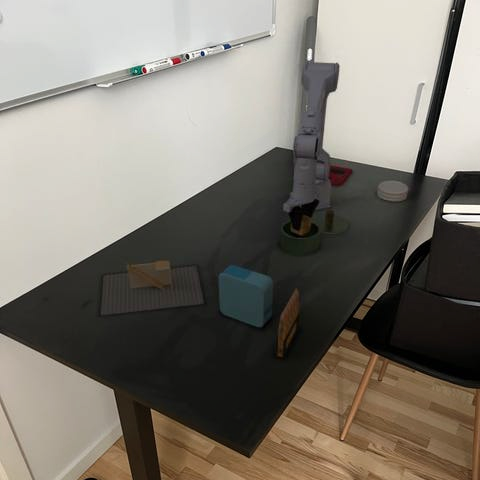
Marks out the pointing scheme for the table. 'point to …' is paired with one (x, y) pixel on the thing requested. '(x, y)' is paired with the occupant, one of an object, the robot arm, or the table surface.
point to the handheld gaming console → (338, 175)
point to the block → (303, 226)
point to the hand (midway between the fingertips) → (300, 226)
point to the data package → (246, 295)
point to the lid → (331, 223)
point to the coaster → (392, 191)
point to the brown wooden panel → (288, 325)
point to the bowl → (300, 239)
